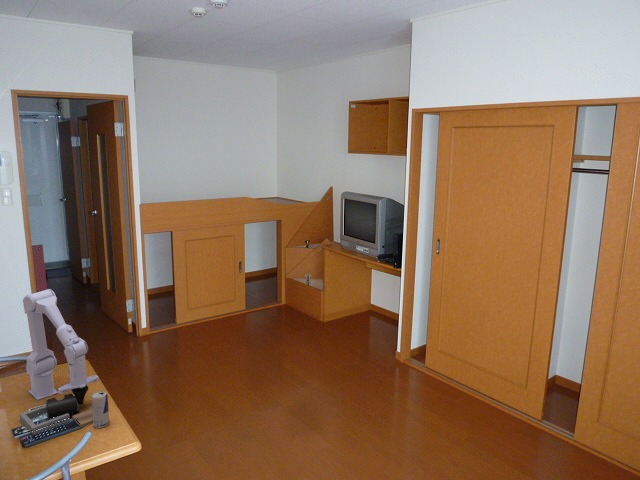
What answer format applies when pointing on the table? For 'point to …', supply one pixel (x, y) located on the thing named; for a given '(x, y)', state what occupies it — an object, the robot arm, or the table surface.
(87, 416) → the walnut stand
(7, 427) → the table surface
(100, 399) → the energy drink
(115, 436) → the table surface
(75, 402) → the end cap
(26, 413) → the corral stand
